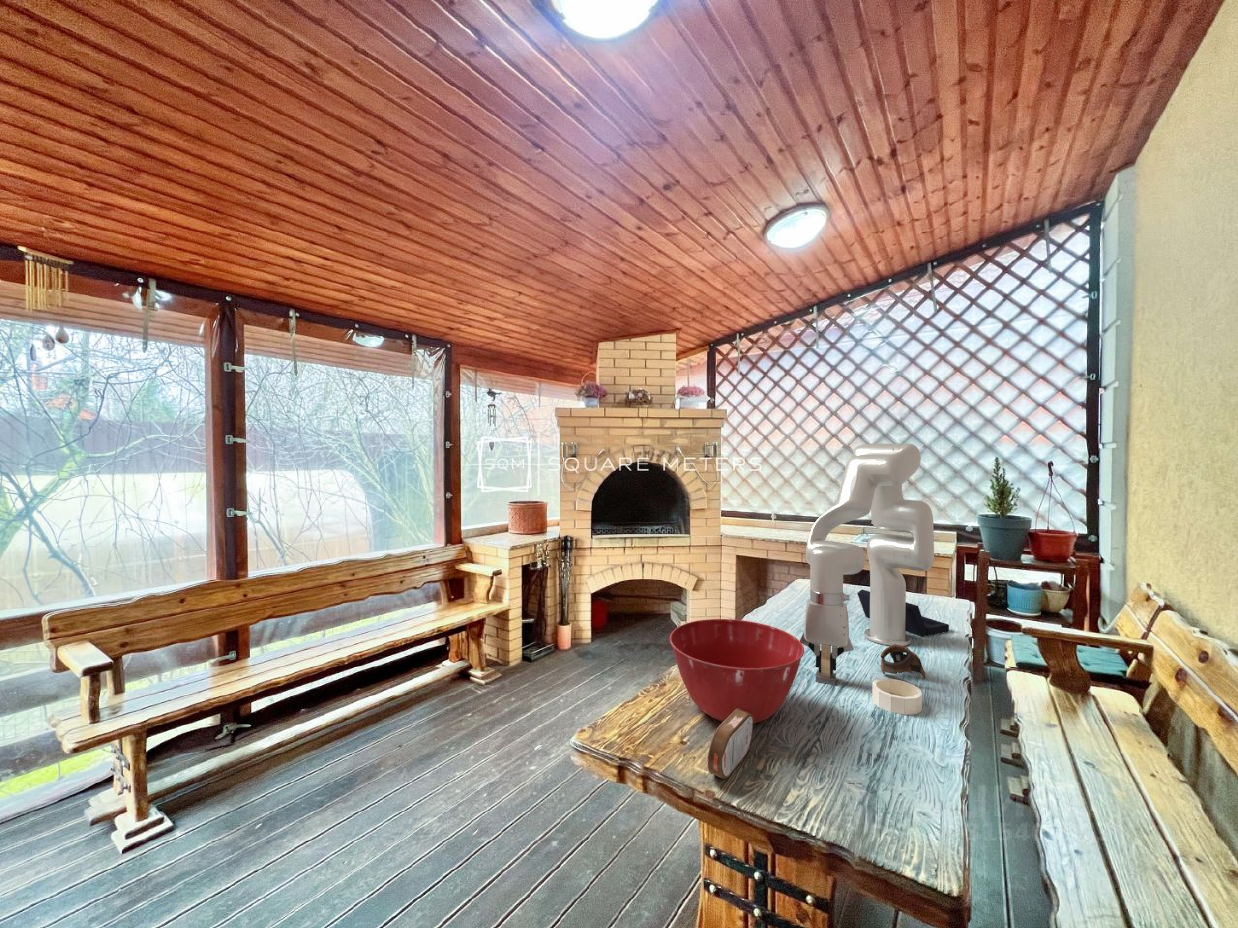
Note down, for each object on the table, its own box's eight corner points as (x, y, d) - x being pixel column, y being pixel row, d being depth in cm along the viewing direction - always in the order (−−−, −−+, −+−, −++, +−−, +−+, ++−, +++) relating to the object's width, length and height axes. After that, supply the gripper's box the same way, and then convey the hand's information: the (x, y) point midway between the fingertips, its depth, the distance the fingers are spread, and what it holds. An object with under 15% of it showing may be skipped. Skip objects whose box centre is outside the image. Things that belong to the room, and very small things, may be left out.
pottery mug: (935, 686, 122) (921, 658, 121) (896, 698, 125) (882, 671, 123) (914, 656, 134) (902, 630, 133) (879, 668, 136) (866, 643, 135)
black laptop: (949, 632, 160) (949, 600, 160) (912, 639, 154) (913, 606, 153) (891, 613, 179) (891, 585, 179) (856, 619, 173) (857, 589, 173)
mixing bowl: (827, 709, 111) (827, 639, 111) (758, 765, 91) (758, 680, 91) (718, 670, 131) (718, 610, 131) (643, 709, 111) (643, 639, 111)
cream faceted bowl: (871, 690, 120) (872, 675, 120) (919, 698, 116) (919, 683, 116) (872, 708, 111) (872, 692, 111) (923, 718, 107) (923, 701, 107)
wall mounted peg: (817, 674, 129) (817, 634, 128) (835, 677, 127) (836, 637, 126) (815, 681, 125) (815, 640, 124) (835, 685, 123) (835, 643, 122)
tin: (740, 742, 98) (740, 699, 98) (756, 748, 97) (756, 704, 96) (705, 783, 86) (705, 734, 86) (722, 790, 84) (723, 740, 84)
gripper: (862, 597, 125) (861, 671, 126) (794, 589, 132) (794, 660, 132) (862, 605, 118) (861, 683, 119) (790, 597, 125) (790, 671, 126)
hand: (825, 670), depth 126 cm, fingers closed on wall mounted peg, 2 cm apart
